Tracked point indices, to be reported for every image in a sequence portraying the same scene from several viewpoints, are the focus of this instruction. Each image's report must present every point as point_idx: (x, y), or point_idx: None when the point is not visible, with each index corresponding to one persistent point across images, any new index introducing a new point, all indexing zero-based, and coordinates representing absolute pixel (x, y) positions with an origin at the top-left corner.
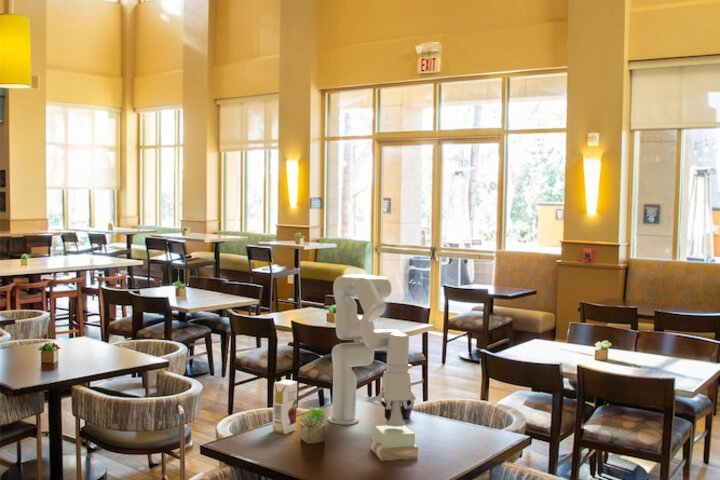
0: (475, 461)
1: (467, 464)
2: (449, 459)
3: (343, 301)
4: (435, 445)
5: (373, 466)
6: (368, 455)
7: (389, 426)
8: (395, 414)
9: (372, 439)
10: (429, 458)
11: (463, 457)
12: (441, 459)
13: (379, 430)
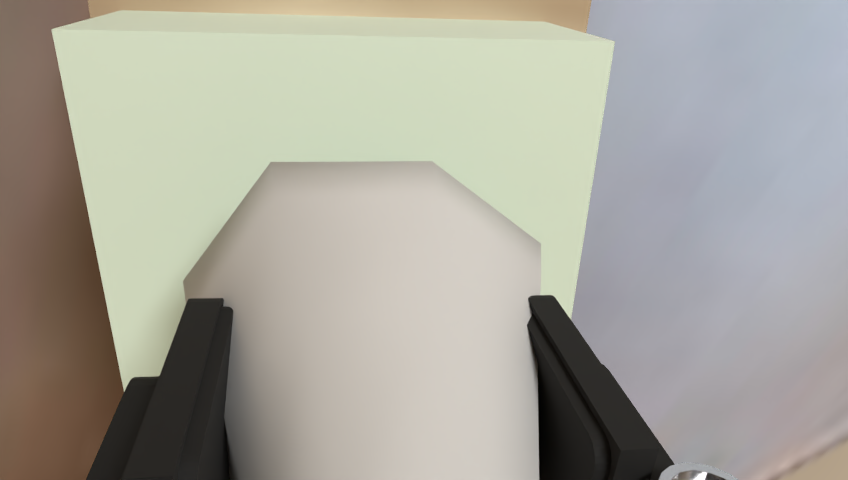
0: (841, 415)
1: (757, 455)
2: (713, 365)
3: None
4: (844, 18)
5: (64, 434)
6: (57, 175)
7: (330, 110)
8: None
9: (93, 9)
10: (589, 328)
11: (829, 341)
12: (661, 358)
13: (101, 270)
